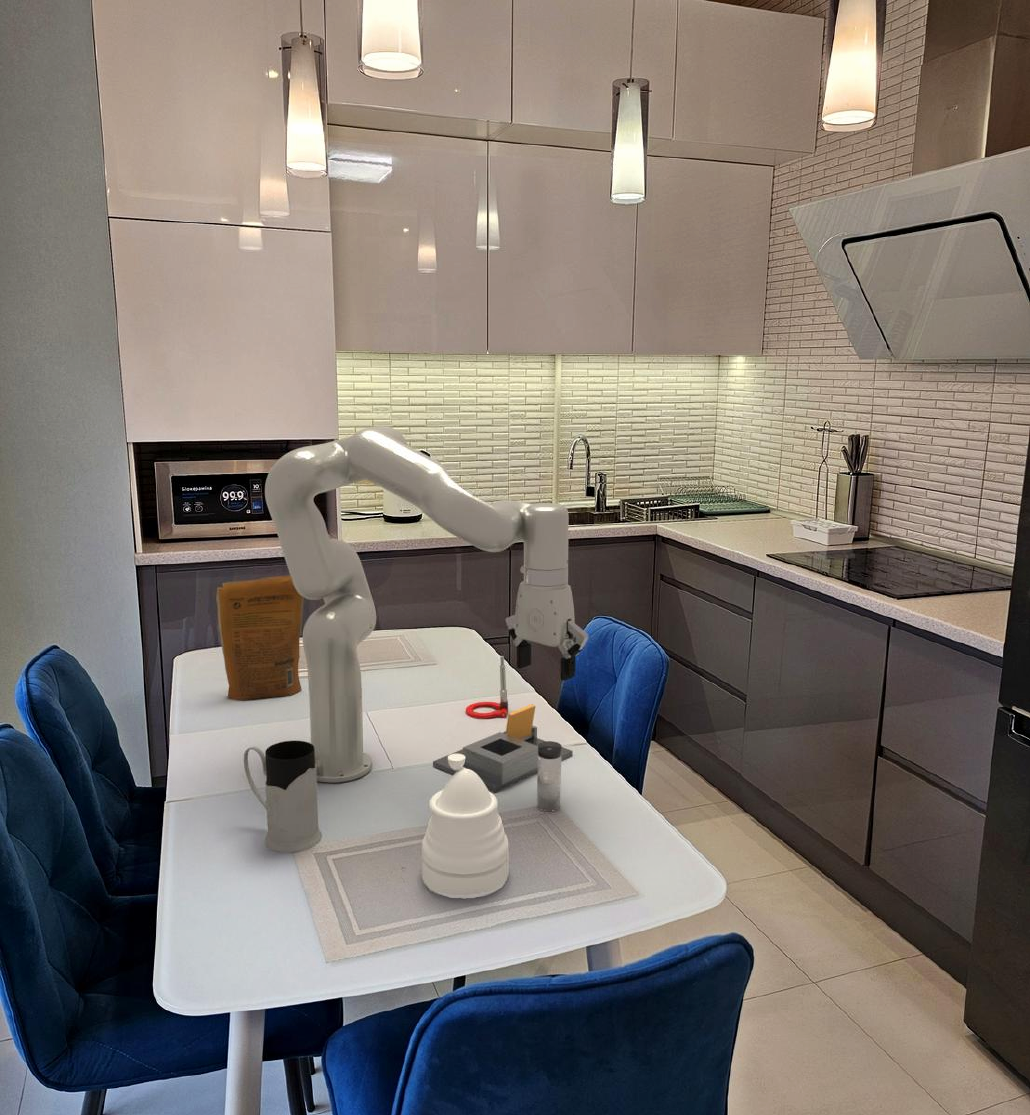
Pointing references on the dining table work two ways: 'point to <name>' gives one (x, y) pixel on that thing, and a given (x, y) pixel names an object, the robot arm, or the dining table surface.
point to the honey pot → (464, 837)
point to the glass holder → (289, 795)
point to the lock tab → (521, 723)
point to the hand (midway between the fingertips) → (545, 672)
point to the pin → (549, 775)
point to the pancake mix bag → (260, 637)
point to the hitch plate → (500, 759)
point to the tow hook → (502, 705)
